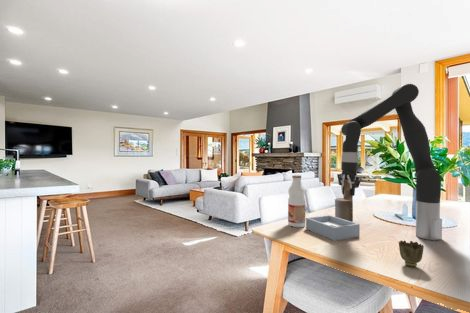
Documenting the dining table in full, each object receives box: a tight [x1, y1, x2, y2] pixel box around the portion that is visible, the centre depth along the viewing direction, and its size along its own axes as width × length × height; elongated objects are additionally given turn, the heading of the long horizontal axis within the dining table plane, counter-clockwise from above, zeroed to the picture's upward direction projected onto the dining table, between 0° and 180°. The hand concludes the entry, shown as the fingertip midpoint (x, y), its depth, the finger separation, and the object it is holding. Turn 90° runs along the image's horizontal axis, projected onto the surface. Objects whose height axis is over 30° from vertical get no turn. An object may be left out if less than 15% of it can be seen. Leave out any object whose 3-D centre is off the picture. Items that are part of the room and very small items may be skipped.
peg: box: [343, 180, 354, 200], centre depth 130 cm, size 4×4×10 cm
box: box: [305, 214, 361, 242], centre depth 131 cm, size 20×16×6 cm
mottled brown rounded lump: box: [398, 239, 425, 268], centre depth 92 cm, size 8×7×8 cm
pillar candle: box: [334, 197, 354, 222], centre depth 150 cm, size 10×10×15 cm
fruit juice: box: [287, 174, 306, 228], centre depth 144 cm, size 9×9×28 cm
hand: (348, 194), depth 130 cm, fingers closed on peg, 4 cm apart
